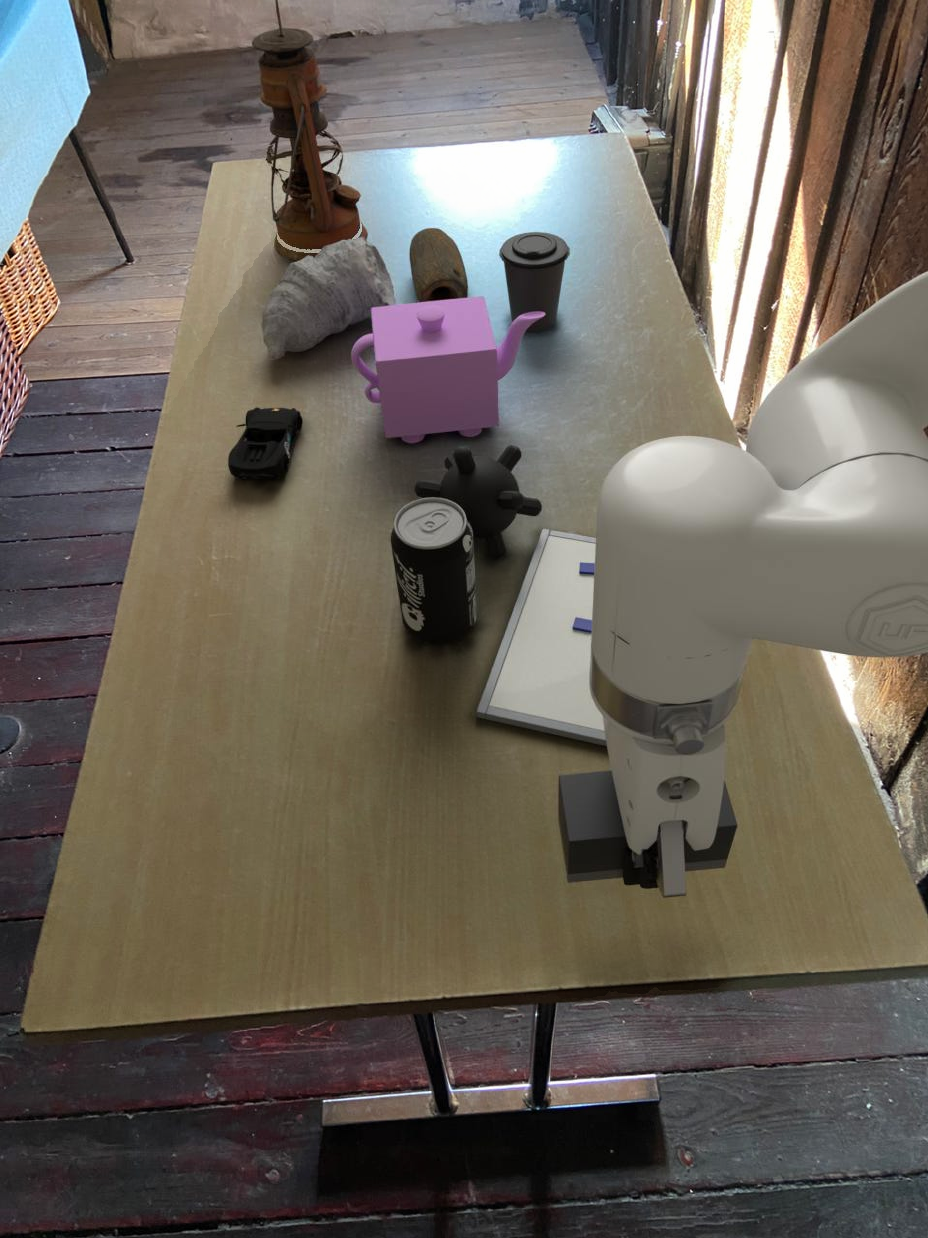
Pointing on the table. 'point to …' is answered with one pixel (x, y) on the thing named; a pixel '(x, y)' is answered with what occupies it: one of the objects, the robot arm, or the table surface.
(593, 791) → the whiteboard eraser
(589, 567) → the blue bar
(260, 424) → the toy car
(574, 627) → the blue rectangular bar
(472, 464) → the toy ball
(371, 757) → the table surface
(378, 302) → the seashell
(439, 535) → the beverage can
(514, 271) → the coffee cup
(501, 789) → the table surface
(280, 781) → the table surface
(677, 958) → the table surface
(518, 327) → the teapot
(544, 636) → the whiteboard
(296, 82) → the lantern
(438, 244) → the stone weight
